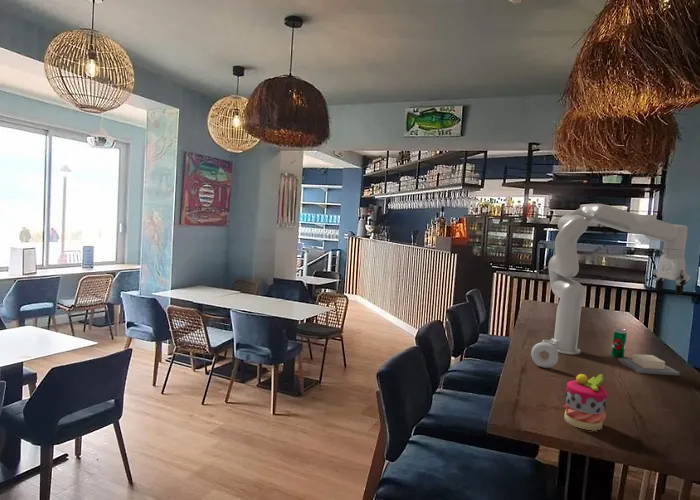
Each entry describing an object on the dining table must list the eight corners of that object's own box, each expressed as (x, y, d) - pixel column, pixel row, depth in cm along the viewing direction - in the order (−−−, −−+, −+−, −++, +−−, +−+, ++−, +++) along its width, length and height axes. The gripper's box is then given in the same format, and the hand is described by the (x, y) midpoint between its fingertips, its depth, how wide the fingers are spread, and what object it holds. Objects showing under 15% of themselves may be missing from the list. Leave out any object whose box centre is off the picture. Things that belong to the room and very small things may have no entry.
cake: (569, 429, 126) (574, 377, 125) (558, 412, 137) (563, 364, 135) (609, 434, 125) (615, 381, 123) (595, 417, 135) (600, 368, 134)
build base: (637, 372, 177) (639, 362, 177) (617, 360, 191) (619, 351, 191) (679, 375, 177) (680, 365, 177) (656, 363, 191) (657, 353, 191)
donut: (558, 369, 176) (560, 344, 175) (556, 371, 173) (558, 346, 172) (531, 363, 182) (533, 338, 181) (529, 365, 179) (531, 340, 178)
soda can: (625, 359, 194) (629, 331, 193) (613, 357, 195) (616, 330, 194) (621, 355, 199) (624, 328, 198) (608, 354, 200) (611, 327, 199)
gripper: (649, 250, 203) (644, 288, 205) (684, 255, 186) (679, 296, 188) (663, 251, 205) (658, 288, 206) (699, 256, 188) (694, 296, 190)
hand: (668, 292), depth 197 cm, fingers open, 9 cm apart
